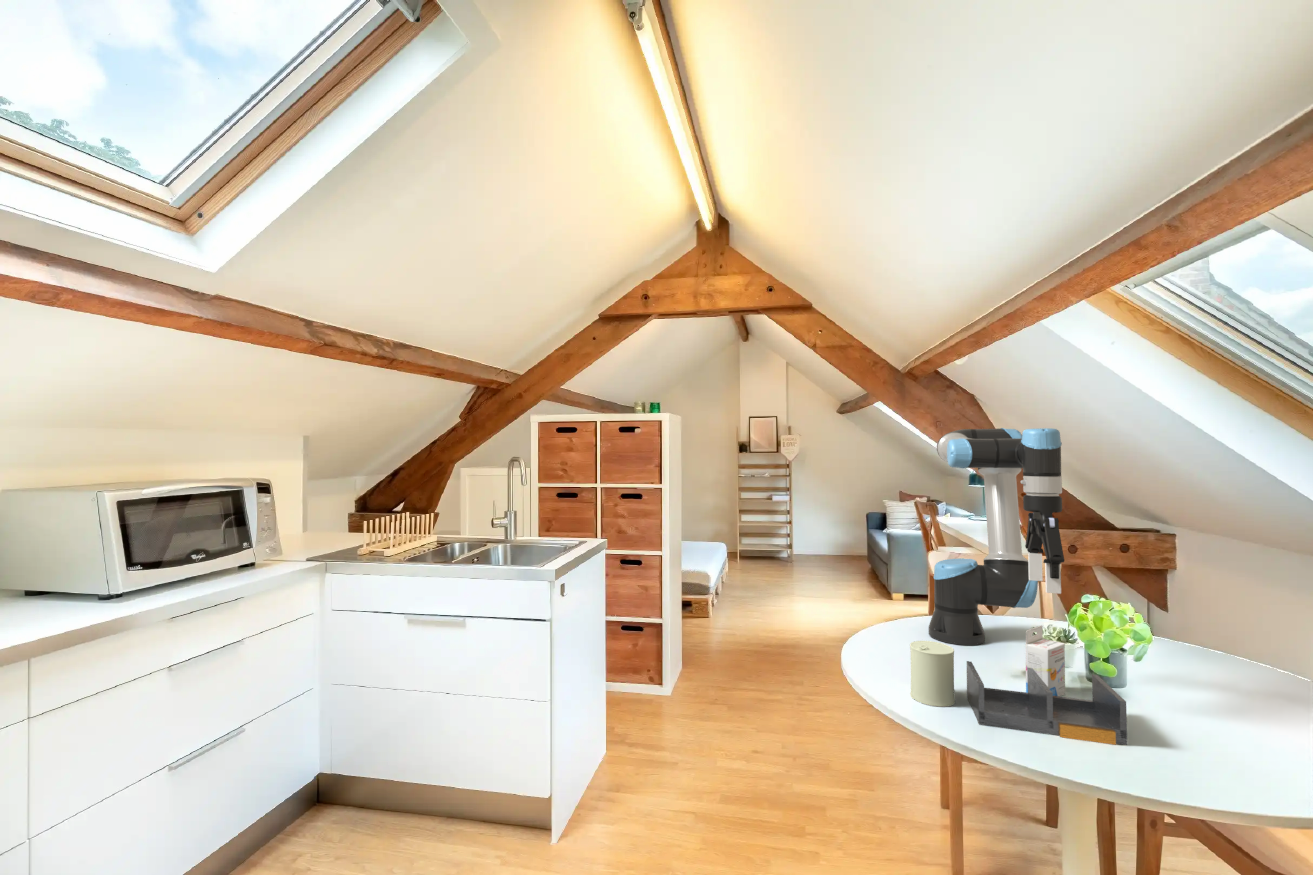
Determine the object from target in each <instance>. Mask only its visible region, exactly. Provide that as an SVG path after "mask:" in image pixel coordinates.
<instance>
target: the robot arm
mask: <svg viewBox="0 0 1313 875" xmlns="http://www.w3.org/2000/svg"><path fill="white" fill-rule="evenodd" d="M1062 445H1063V444H1062V440H1061V432H1060V430H1059V429H1057V428H1046V427H1045V428H1044V427H1043V428H1026V429H1024V430H1023V431H1022V432H1020V430H1018V429H1015V428H1004V427H1001V428H964V429H963V428H961V429H958V430H953V431H950V432H948V433H945V434H944V435H942V436H941V437H940V438H939V439H938V441H937V444H936V451H937V452H936V453H937V454H938V456H939V457H940V459H942V460H943V461H944V462H946V463H947V465H948V466H949V467H951V468H955V469H956V468H959V469H977V472H978V473H979V474H980V475H981V476H983V480H984V482H983V483H984V498H985V514H986V516H985V517H986V531H987V532H986V533H987V546H988V554H987V556H985V557H984V558H983V564H978V561H977V560H976V559H973V558H949V559H942V560H939V561H937V562H936V563H935V565H934V569H933V570H934V571H933V573H934V574H933V580H934V593H933V594H934V610H933V613H932V616H931V618H930V621H929V624H928V635H929V636H930V638H932V639H934V640H937V641H940V642H943V643H948V644H953V645H960V646H979V645H983V644H985V642H986V633H985V631H984V628H983V624H982V622H981V619H980V617H979V614H978V612H979V611H978V609H979V608H978V607H979V605H980V606H992V607H993V606H994V607H1006V608H1013V609H1016V608H1020V609H1021V608H1022V609H1025V608H1026V609H1028V608H1030V607H1032V606H1033V605H1034V603H1035V600H1036V598H1037V594H1038V586H1039V585H1038V584H1039V582H1043V564H1044V566H1045V567H1044V568H1045V569H1044V572H1045V573H1044V574H1045V578H1044V579H1045V593H1048V594H1058V595H1061V594H1062V578H1061V577H1062V574H1061V573H1062V569H1061V568H1062V566H1061V564H1062V563H1064V562H1065V557H1064V550H1063V545H1062V539H1061V533H1060V528H1059V527H1060V524H1059V522H1060V521H1059V518H1058V517H1053V514H1055V513H1058V514H1059V513H1061V512H1062V511H1063V497H1061V496H1060V495H1061V494H1062V493H1063V478H1062ZM1021 472H1022V478H1023V479H1022V480H1020V484H1021V485H1022V486H1023V487H1022V490H1023V491H1022V492H1024V493H1025V494H1024V495H1023V497H1022V499H1023V500H1022V503H1023V510H1024V511H1025V512H1028V514H1027V516H1028V518H1027V519H1028V520H1027V521H1028V522H1027V523H1028V524H1027V530H1026V536H1025V537H1026V538H1025V545H1024V547H1025V549H1026V550H1027V555H1028V556H1027V557H1028V558H1026V557H1025V556H1024V555H1023V550H1022V547H1023V546H1022V537H1021V533H1022V532H1021V524H1020V523H1021V522H1020V509H1019V497H1018V496H1019V495H1018V484H1017V476H1018V474H1020V473H1021ZM1042 547H1043V548H1042ZM1043 554H1044V555H1045V558H1044V559H1043Z"/></svg>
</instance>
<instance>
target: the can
mask: <svg viewBox="0 0 1313 875" xmlns="http://www.w3.org/2000/svg"><path fill="white" fill-rule="evenodd" d="M909 646H910V647H909V648H910V693H909V694H910V697H911V698H912V699H913V700H914V699H915V700H914V701H915V702H918V703H920V702H921V703H920V704H923V705H926V706H930V707H931V706H932V707H937V708H938V707H939V708H945V707H951V706H953V705H955V703H956V698H955V669H954V668H955V665H954V664H955V649H954V648H953V647H952V646H950V645H948V644H946V643H942V642H937V641H930V640H916V641H912V642H911V643H910V644H909Z"/></svg>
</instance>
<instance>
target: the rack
mask: <svg viewBox="0 0 1313 875" xmlns="http://www.w3.org/2000/svg"><path fill="white" fill-rule="evenodd" d="M976 669H977V668H976V667H975V665H974V663H973V662H972V661H969V660H966V698H967V700H968V702H969V706H971V710H972V712H973V714H974V717H975V719H976V720H977V723H978V725H980V726H986V727H993V728H1000V729H1007V730H1016V731H1022V732H1023V731H1024V732H1030V733H1035V734H1037V733H1038V734H1043V735H1044V734H1045V735H1051V736H1059V737H1060V738H1065V739H1071V740H1078V741H1083V742H1084V741H1085V742H1093V743H1098V744H1099V743H1100V744H1106V745H1112V746H1113V745H1115V746H1116V745H1123V746H1128V725H1127V723H1128V721H1127V700H1125V699H1124V698H1123V697H1122V696H1121V695H1120V694H1119V693H1118V692H1117V691H1116V690H1114V689H1113V688H1112V687H1111V686H1110V685H1109V684H1108V683H1107V682H1106V681H1105V680H1103V679H1102V677H1100V676H1099V674H1091V690H1092V691H1091V692H1092V695H1091V696H1092V698H1091V699H1092V700H1090V699H1082V698H1075V697H1074V698H1073V697H1067V696H1053V693H1052V692H1051V690H1050V689H1049V688H1048V687H1047V685H1046V684H1045V683H1044V682H1043V680H1042V679H1041V678H1040V677H1039V676H1038V674H1037V673H1036V672H1035V671H1034V669H1033V668H1027V679H1028V693H1026V691H1025V692H1024V691H1017V690H1016V691H1015V690H1008V689H1001V688H1000V689H999V688H992V687H985V684H984V682H983V680H982V678H981V677H980V674H979V673H978V671H977V670H976Z"/></svg>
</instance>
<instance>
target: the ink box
mask: <svg viewBox="0 0 1313 875" xmlns="http://www.w3.org/2000/svg"><path fill="white" fill-rule="evenodd" d="M1043 629H1044V627H1043V625H1042V624H1041V625H1039V626H1035V627H1031V628H1030V629H1027V630H1026V631H1025V646H1024V647H1025V692H1026V693H1028V679H1027V668H1033V669H1034V671H1035V672H1036V673H1037V674H1038V676H1039V677H1040V678H1041V679H1042V680H1043V682H1044V683H1045V684H1046V685H1047V687H1048V688H1049V689H1050V690H1051V692H1052V693H1053V696H1060V697H1063V695H1066V666H1065V665H1066V663H1065V662H1066V659H1065V658H1066V657H1065V656H1066V654H1065V652H1066V651H1065V648H1066V647H1065V646H1066V644H1065V643H1064V642H1060V641H1055V640H1050V639H1048V638H1044V637H1043V636H1044V635H1043ZM1034 633H1036V634H1035V635H1033V634H1034Z"/></svg>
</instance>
